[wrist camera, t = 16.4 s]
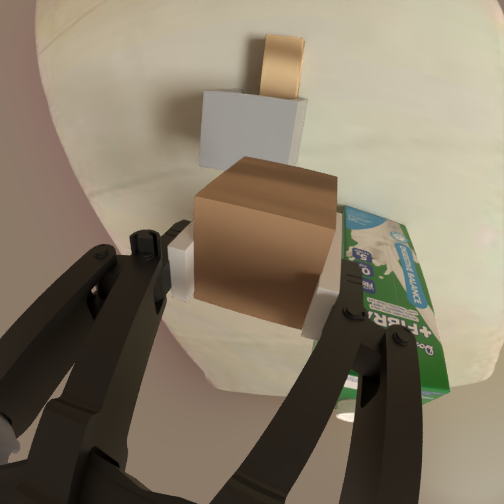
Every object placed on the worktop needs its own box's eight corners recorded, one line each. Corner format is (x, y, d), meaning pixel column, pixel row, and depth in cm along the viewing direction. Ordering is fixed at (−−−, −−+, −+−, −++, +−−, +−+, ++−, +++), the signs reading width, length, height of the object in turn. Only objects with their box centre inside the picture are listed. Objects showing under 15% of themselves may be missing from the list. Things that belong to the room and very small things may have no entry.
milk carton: (325, 260, 40) (296, 424, 20) (344, 204, 35) (338, 372, 15) (381, 277, 39) (387, 439, 19) (405, 225, 34) (451, 393, 14)
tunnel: (235, 89, 31) (203, 90, 24) (307, 99, 29) (298, 101, 22) (229, 147, 35) (198, 166, 28) (297, 160, 34) (284, 182, 27)
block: (244, 156, 15) (193, 195, 10) (337, 177, 14) (335, 230, 9) (235, 234, 18) (193, 298, 13) (315, 255, 17) (301, 329, 12)
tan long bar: (272, 38, 26) (266, 34, 24) (305, 42, 26) (302, 38, 23) (258, 157, 36) (251, 163, 33) (288, 163, 35) (284, 169, 32)
